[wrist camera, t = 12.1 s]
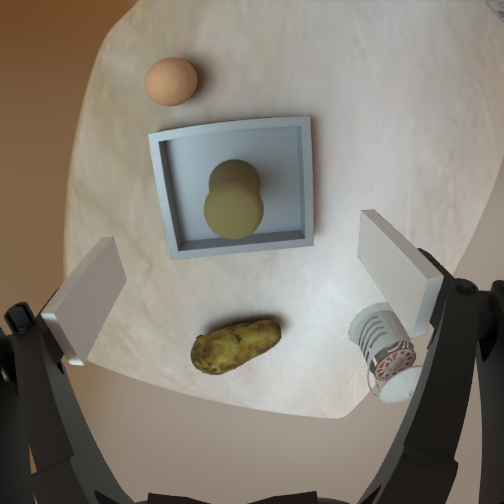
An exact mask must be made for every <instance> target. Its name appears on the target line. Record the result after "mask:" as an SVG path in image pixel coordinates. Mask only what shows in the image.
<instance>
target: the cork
mask: <svg viewBox="0 0 504 504" xmlns="http://www.w3.org/2000/svg"><path fill="white" fill-rule="evenodd" d="M259 191H260V178H259V175H258V172H257V171H256V170H255V168H254V167H253V166H252V165H250V164H249V163H247V162H246V161H242V160H239V159H230V160H227V161H224V162H221V163H220V164H219V165H217V166H216V167H215V168H214V170H213V171H212V173H211V174H210V178H209V194H208V195H207V197H206V200H205V204H204V217H205V219H206V222H207V224H208V226H209V227H210V228H211V230H212V231H213V232H214V233H216V234H217V235H219V236H221V237H223V238H227V239H241V238H244V237H247V236H249V235H250V234H251V233H253V232H254V231H255V230H256V229H257V228H258V226H259V225H260V223H261V221H262V218H263V215H264V204H263V201H262V199H261V196H260V194H259Z"/></svg>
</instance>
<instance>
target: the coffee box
mask: <svg viewBox="0 0 504 504" xmlns="http://www.w3.org/2000/svg"><path fill="white" fill-rule="evenodd" d="M486 3H487V4H488V5H489V6H490V7H491V8H492V10H493V11H494V12H495V13H496V14H497V15H498V16H499V17H500V18H501V19H502V20H503V21H504V0H486Z"/></svg>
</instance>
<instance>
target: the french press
mask: <svg viewBox="0 0 504 504" xmlns="http://www.w3.org/2000/svg"><path fill="white" fill-rule="evenodd" d="M348 334H349V338H350V340H351V341H352V342H353V343H355V344H357V345H359V346H360V349H361V351H362V353H363V355H364V358H365V360H366V362H367V365H368V370H367V381H368V386H369V389H370V391H371V393H372V394H373V395H374V396H375V397H376V398H380V399H381V400H382V401H384V402H389V403H393V402H401V401H403V400H406V399H408V398H411V399H412V396H413V394H414V391H415V388H416V385H417V383H418V380H419V377H420V374H421V371H422V368H423V366H421V365H416V366H412V365H413V363H414V361H415V359H416V353H415V352H414V346H413V344H412V343H411V341H410V339H409V337H408V336H407V335H406V332H405V331H404V330H403V328H402V326H401V325H400V323H399V319H398V317H397V316H396V314H395V312H394V311H393V309H392V308H391V306H390V305H389V303H376V304H374V305H372V306H369V307H367V308H365V309H364V310H363V311H361V312H360V313H359V314H357V315H356V317H355V318H354V320H353V321H352V322H351V324H350V327H349V331H348ZM400 341H402V343H401V344H400V346H399V348H398V349H396V350H395V351H393V352H390V353H387V351H388V350H391V349H393V348H394V347H396V346H397V345H398V344H399V342H400ZM404 341H405V347H404V348H403V349H401V348H402V347H403V345H404ZM407 341H408V342H409V347H408V348H407ZM395 342H396V343H395ZM392 343H395V344H394V345H392V346H390V347H387V348H385V347H386V346H387V345H390V344H392ZM366 346H367V347H366ZM369 347H370V348H371V350H370V353H369V351H368V349H369ZM373 357H375V359H376V361H377V366H376V367H375V365H374V362H373V360H372V358H373ZM369 369H370V371H371V372H372V373H373V374H374V376H375V382H376V386H377V388H378V391H379V392H380V397H379V396H376V395H375V394H374V393H373V392H372V390H371V387H370V384H369V376H368V375H369ZM377 379H378V380H381V381H387V382H386V383H385V384H384V385H383V387H382V388H381V390H380V389H379V387H378V384H377Z"/></svg>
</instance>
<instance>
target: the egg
mask: <svg viewBox="0 0 504 504" xmlns="http://www.w3.org/2000/svg"><path fill="white" fill-rule="evenodd" d="M196 86H197V74H196V72H195V69H194V68H193V67H192V65H191V64H189V63H188V62H187V61H185V60H183V59H179V58H166V59H162V60H160V61H158V62H157V63H155V64H154V65H153V66H152V67H151V68H150V69H149V71H148V72H147V74H146V78H145V90H146V92H147V94H148V96H149V97H150V98H151V99H152V100H153V101H154V102H156V103H157V104H160V105H163V106H176V105H179V104H182V103H184V102H185V101H186V100H188V99H189V98H190V97H191V96H192V94H193V93H194V92H195V89H196Z"/></svg>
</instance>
